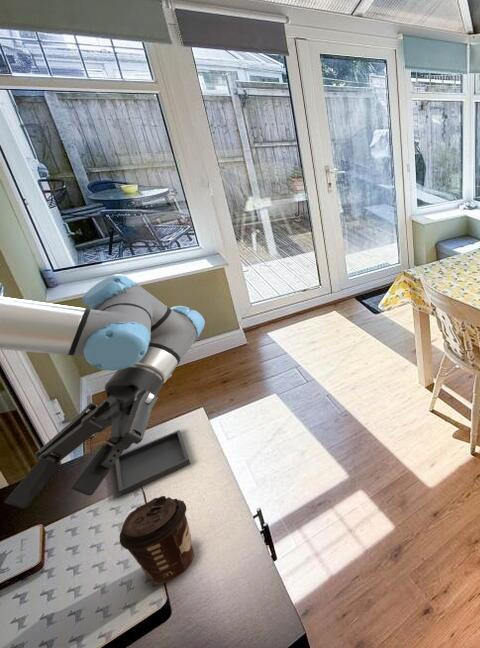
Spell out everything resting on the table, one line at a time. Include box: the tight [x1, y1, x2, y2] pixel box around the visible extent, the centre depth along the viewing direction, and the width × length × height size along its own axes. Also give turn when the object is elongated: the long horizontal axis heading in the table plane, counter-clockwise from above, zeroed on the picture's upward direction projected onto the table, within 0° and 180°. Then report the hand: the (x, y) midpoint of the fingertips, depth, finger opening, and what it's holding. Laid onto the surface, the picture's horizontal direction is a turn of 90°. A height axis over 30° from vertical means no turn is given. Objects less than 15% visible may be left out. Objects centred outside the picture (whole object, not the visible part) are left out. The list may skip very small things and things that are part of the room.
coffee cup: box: [119, 495, 195, 585], centre depth 70 cm, size 9×8×13 cm
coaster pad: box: [114, 429, 191, 497], centre depth 91 cm, size 12×12×2 cm
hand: (47, 499), depth 61 cm, fingers open, 13 cm apart
